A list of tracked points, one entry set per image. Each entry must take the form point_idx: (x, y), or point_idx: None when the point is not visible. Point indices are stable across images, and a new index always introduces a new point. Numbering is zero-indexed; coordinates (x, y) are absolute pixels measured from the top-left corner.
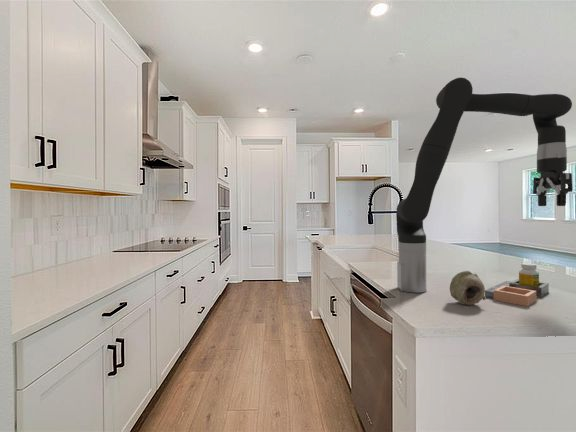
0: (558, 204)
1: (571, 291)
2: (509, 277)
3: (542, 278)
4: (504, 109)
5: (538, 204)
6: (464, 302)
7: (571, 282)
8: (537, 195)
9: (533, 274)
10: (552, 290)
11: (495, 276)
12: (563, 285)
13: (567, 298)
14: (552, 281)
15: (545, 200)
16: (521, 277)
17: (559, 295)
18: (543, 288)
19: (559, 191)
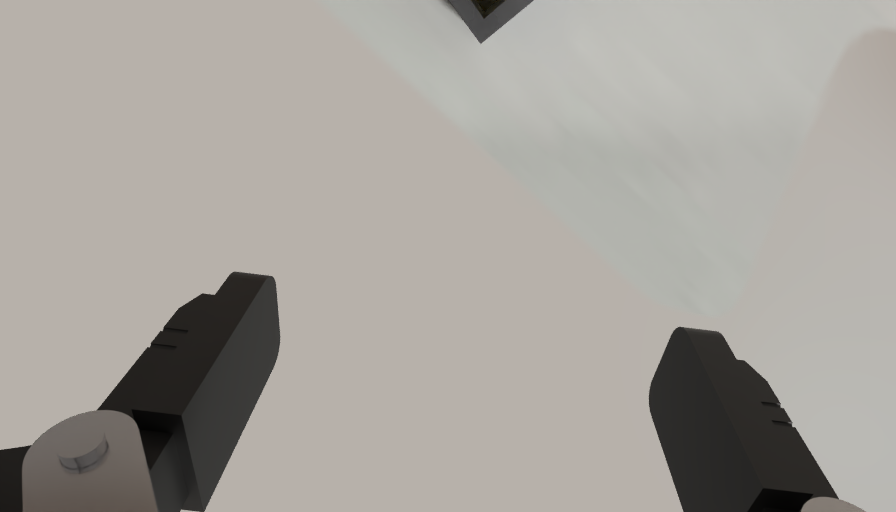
0: (227, 280)
1: (489, 155)
2: (812, 76)
3: (730, 227)
4: None
5: (717, 342)
6: None
7: (629, 281)
8: (835, 501)
9: None
10: (513, 85)
11: (871, 4)
12: (589, 208)
13: (378, 36)
14: (665, 223)
15: (678, 468)
16: None
17: (427, 42)
18: None
19: (26, 461)
